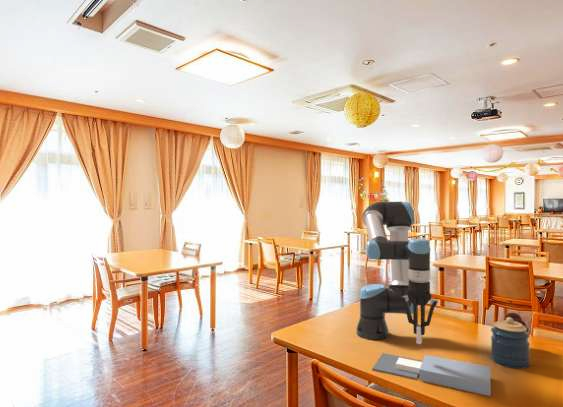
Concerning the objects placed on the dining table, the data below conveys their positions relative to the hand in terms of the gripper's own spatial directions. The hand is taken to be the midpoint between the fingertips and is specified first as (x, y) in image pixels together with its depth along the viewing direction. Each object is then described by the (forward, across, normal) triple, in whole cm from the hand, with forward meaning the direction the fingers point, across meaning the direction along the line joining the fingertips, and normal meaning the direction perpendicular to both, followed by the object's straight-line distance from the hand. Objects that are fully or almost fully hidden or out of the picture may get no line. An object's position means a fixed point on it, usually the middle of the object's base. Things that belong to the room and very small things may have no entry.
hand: (419, 342), depth 137 cm
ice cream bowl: (+12, +32, +41) cm, 54 cm away
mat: (+11, -8, 0) cm, 13 cm away
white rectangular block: (+10, -3, -1) cm, 11 cm away
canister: (+11, +30, +25) cm, 41 cm away
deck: (+11, +12, -1) cm, 16 cm away
